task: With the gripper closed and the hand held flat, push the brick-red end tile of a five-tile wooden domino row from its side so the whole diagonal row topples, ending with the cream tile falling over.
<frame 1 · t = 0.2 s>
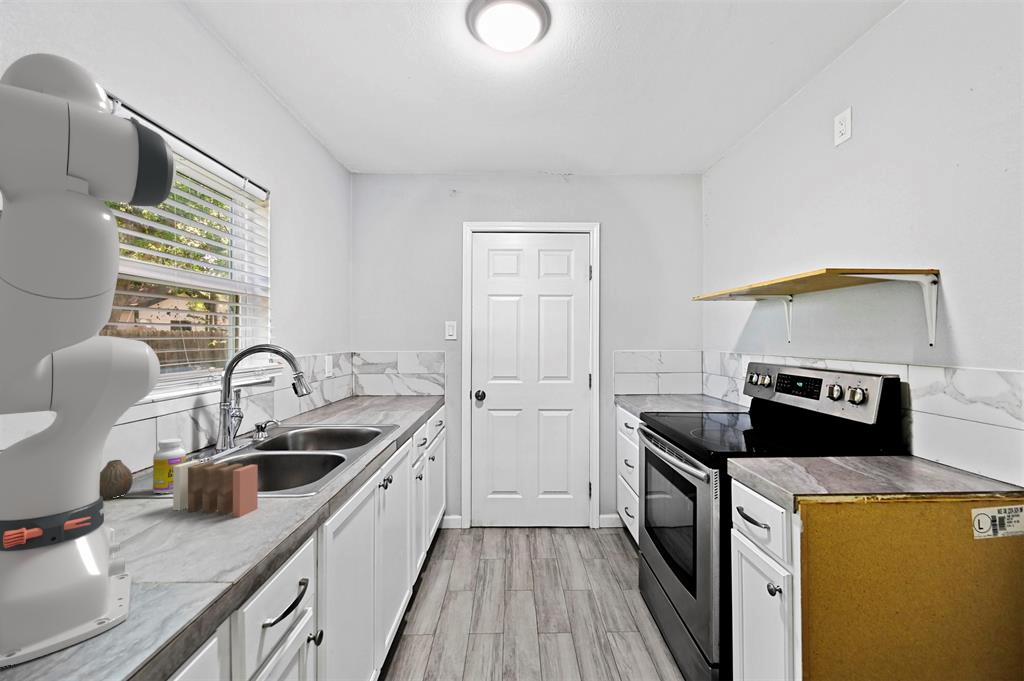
hand: (37, 288, 86), 48 cm above the countertop, tool pointing down, fingers open, 8 cm apart
tile 2: (230, 511, 102), on the countertop
vase: (114, 497, 111), on the countertop
end tile: (245, 512, 101), on the countertop
tile 3: (215, 509, 103), on the countertop
tile 4: (200, 508, 104), on the countertop
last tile: (186, 506, 104), on the countertop
supplement bottle: (169, 491, 116), on the countertop
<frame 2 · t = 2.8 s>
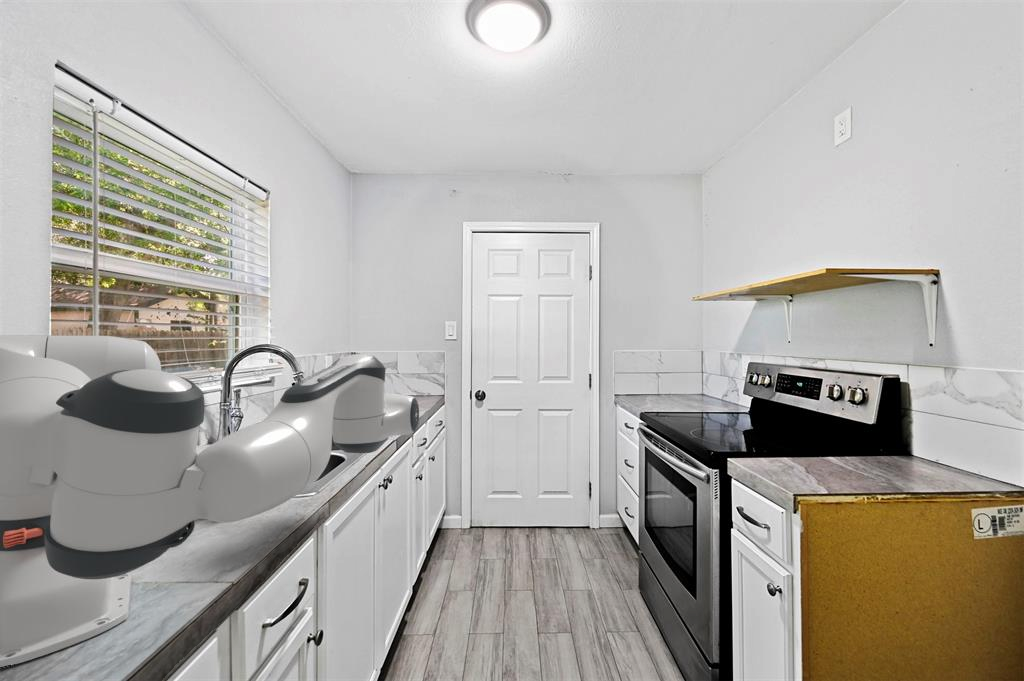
hand: (290, 412, 99), 22 cm above the countertop, tool horizontal, fingers open, 8 cm apart
nothing on the countertop moved.
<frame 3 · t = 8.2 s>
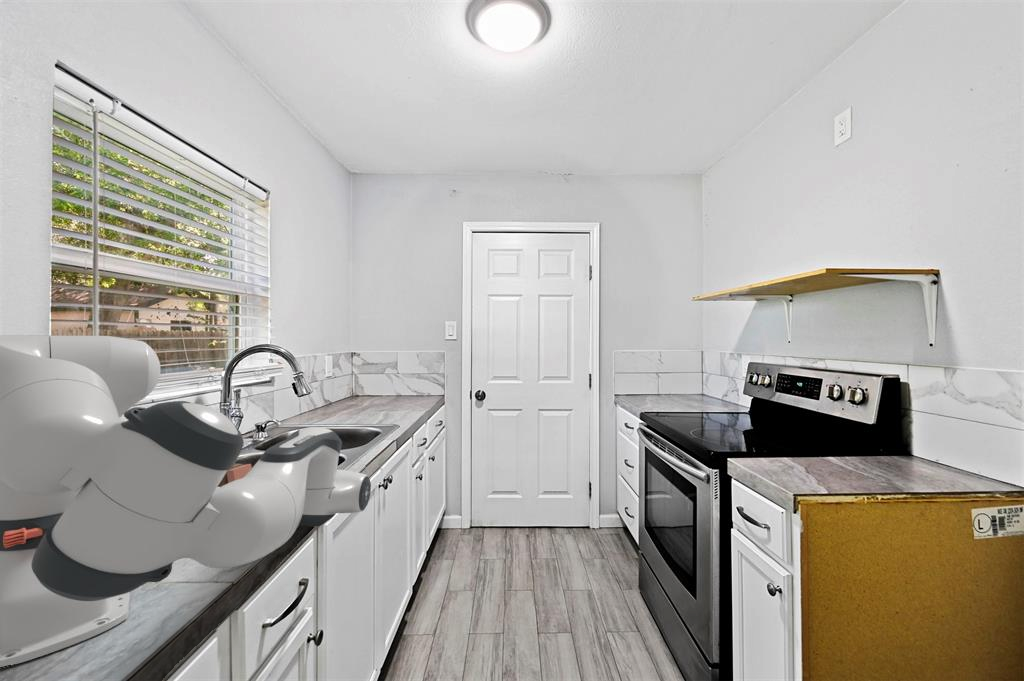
hand: (246, 484, 101), 6 cm above the countertop, tool horizontal, fingers closed
end tile: (245, 511, 101), on the countertop, tilted 10°
everything else where it was.
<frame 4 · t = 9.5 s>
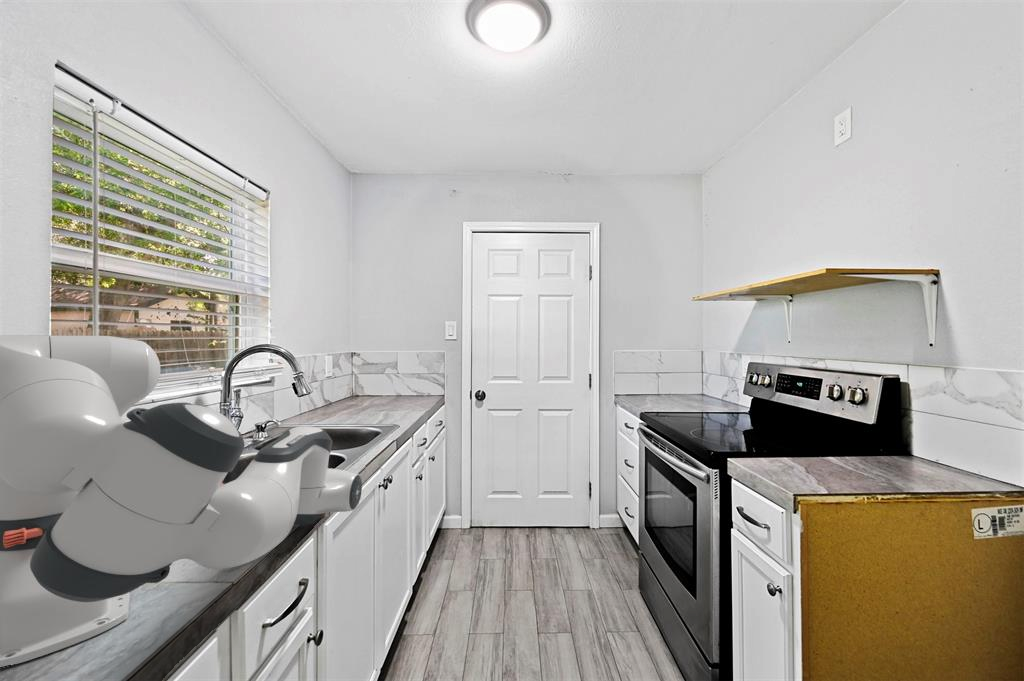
hand: (238, 482, 101), 7 cm above the countertop, tool horizontal, fingers closed
tile 2: (222, 506, 102), point 1 cm above the countertop, tilted 65°, touching end tile
end tile: (236, 508, 101), point 1 cm above the countertop, tilted 65°, touching tile 2
tile 3: (206, 504, 103), point 1 cm above the countertop, tilted 66°
tile 4: (193, 502, 105), point 1 cm above the countertop, tilted 66°
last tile: (182, 505, 105), on the countertop, tilted 90°
everything else where it was.
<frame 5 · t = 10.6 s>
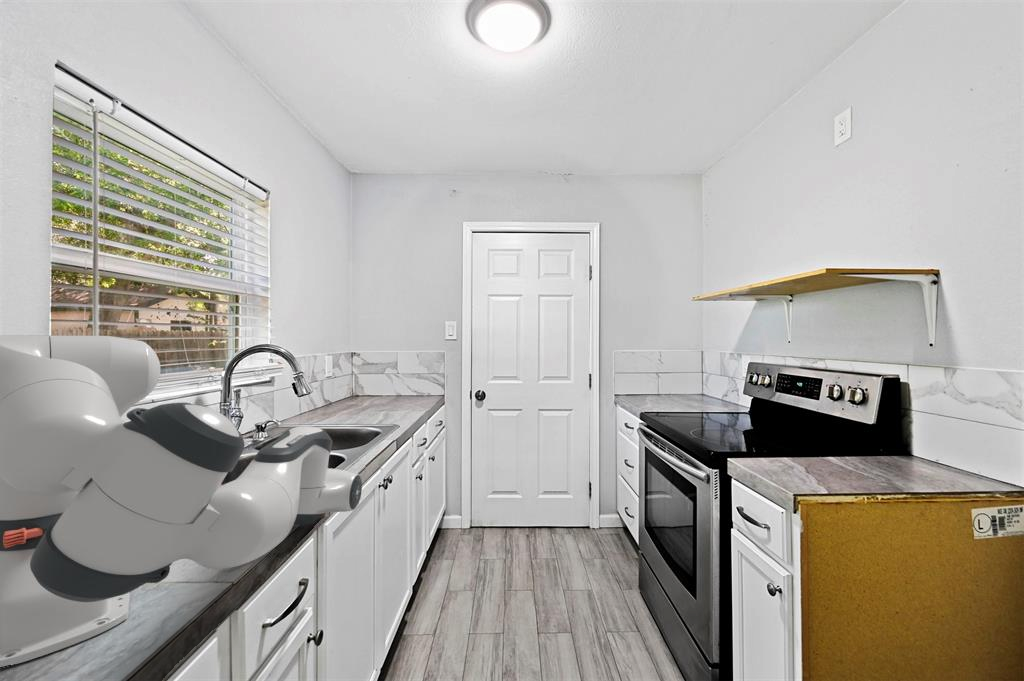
hand: (238, 482, 101), 7 cm above the countertop, tool horizontal, fingers closed
tile 2: (218, 506, 102), point 1 cm above the countertop, tilted 65°
end tile: (231, 509, 100), point 1 cm above the countertop, tilted 65°
tile 3: (204, 502, 104), point 1 cm above the countertop, tilted 66°, touching tile 4
tile 4: (192, 498, 107), point 1 cm above the countertop, tilted 70°, touching tile 3
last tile: (181, 503, 106), on the countertop, tilted 90°
everything else where it was.
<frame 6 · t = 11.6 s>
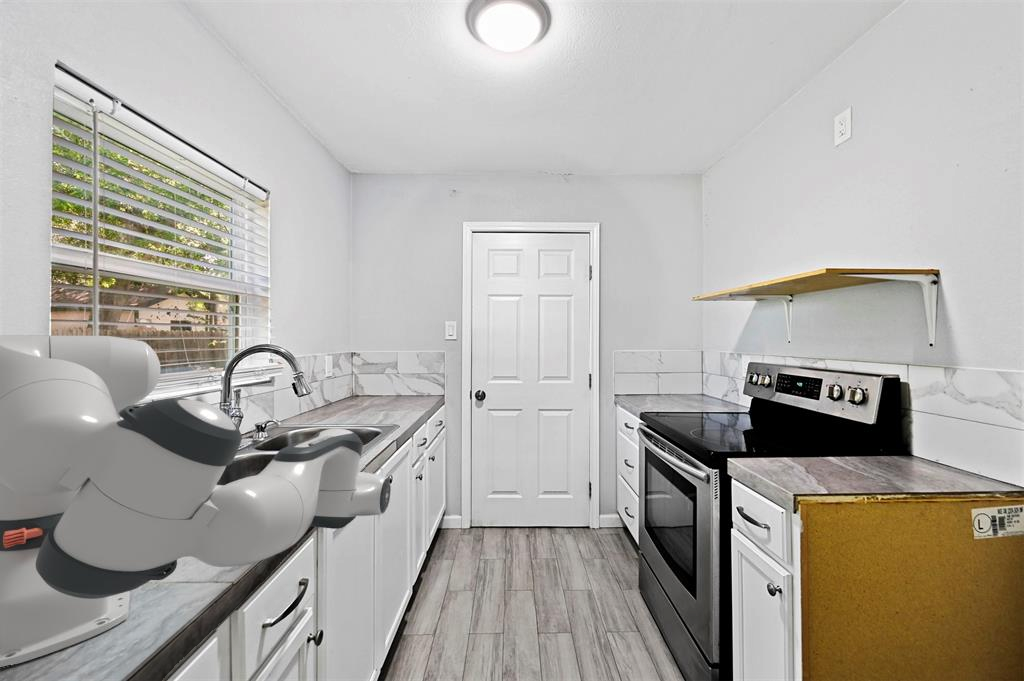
hand: (264, 486, 100), 6 cm above the countertop, tool horizontal, fingers closed
tile 2: (214, 506, 102), point 1 cm above the countertop, tilted 66°, touching end tile, tile 3
end tile: (228, 509, 101), point 1 cm above the countertop, tilted 66°, touching tile 2
tile 3: (193, 503, 105), point 1 cm above the countertop, tilted 56°, touching tile 2
tile 4: (179, 495, 106), point 2 cm above the countertop, tilted 90°, touching supplement bottle, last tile
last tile: (176, 503, 106), on the countertop, tilted 90°, touching tile 4
supplement bottle: (169, 491, 116), on the countertop, touching tile 4
everything else where it was.
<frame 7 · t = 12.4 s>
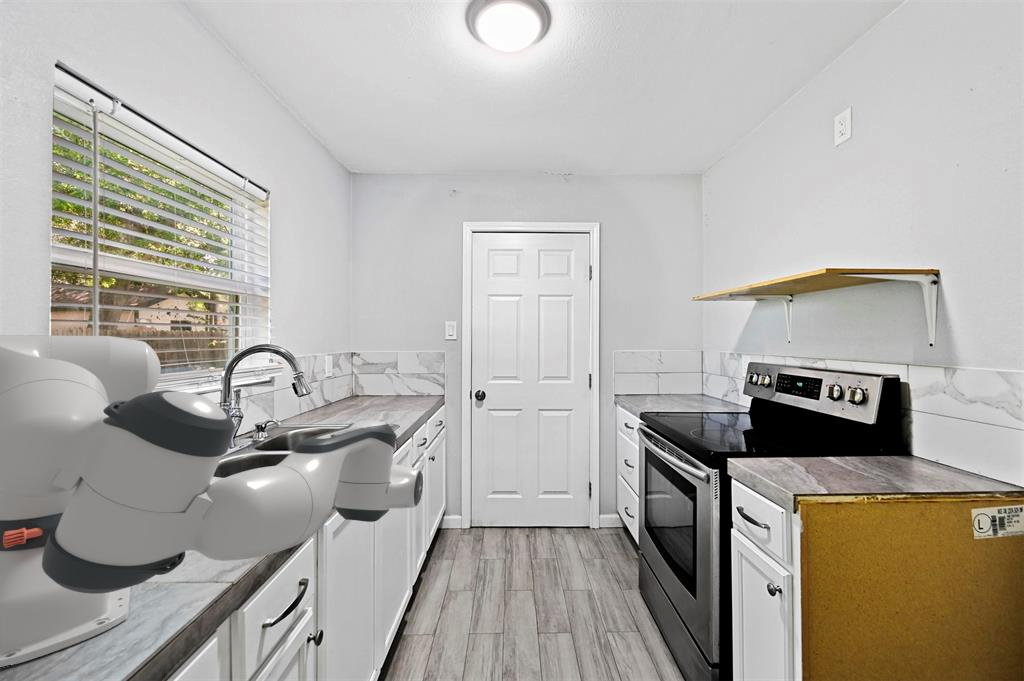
hand: (293, 478, 99), 8 cm above the countertop, tool horizontal, fingers closed
tile 3: (186, 502, 104), point 1 cm above the countertop, tilted 60°, touching tile 2
tile 4: (168, 496, 105), point 2 cm above the countertop, tilted 91°
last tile: (173, 505, 105), on the countertop, tilted 90°
supplement bottle: (169, 491, 116), on the countertop
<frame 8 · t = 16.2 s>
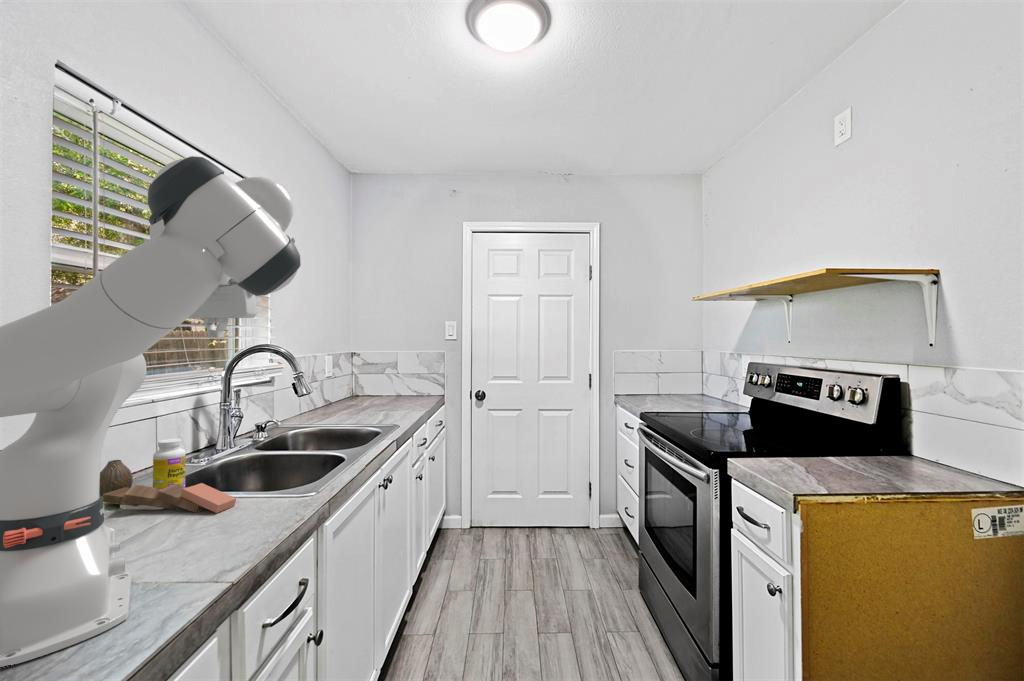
hand: (215, 337, 108), 39 cm above the countertop, tool pointing down, fingers closed
tile 2: (205, 505, 103), point 1 cm above the countertop, tilted 72°, touching end tile
end tile: (226, 505, 102), point 1 cm above the countertop, tilted 73°, touching tile 2
tile 3: (179, 500, 105), point 1 cm above the countertop, tilted 73°
tile 4: (146, 498, 105), point 2 cm above the countertop, tilted 90°, touching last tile
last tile: (171, 505, 105), on the countertop, tilted 90°, touching tile 4
everything else where it was.
at the end: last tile tilted 90°; end tile tilted 73° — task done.
